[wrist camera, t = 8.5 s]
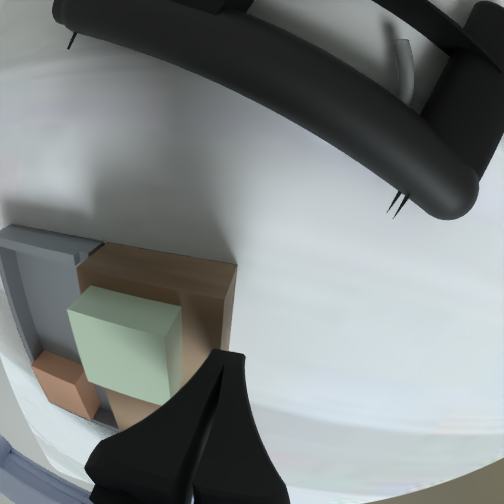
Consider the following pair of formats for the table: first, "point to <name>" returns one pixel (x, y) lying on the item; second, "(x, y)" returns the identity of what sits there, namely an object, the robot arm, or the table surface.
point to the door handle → (337, 84)
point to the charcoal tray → (47, 294)
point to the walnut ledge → (171, 292)
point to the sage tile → (129, 343)
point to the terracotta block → (66, 384)
